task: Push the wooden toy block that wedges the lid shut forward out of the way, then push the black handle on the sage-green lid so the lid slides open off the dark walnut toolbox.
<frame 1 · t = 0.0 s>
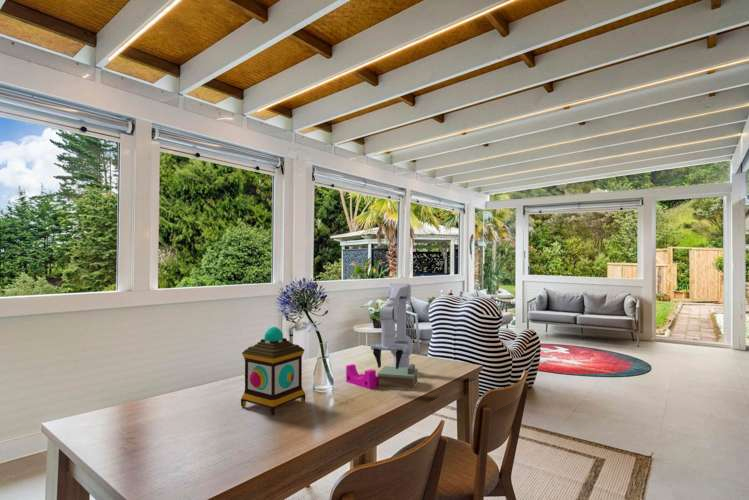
hand: (388, 367, 178), 10 cm above the table, tool pointing down, fingers open, 7 cm apart
toy block: (362, 384, 189), on the table
toolbox: (398, 384, 188), on the table
decorative lantern: (273, 405, 163), on the table
lid: (398, 369, 188), point 7 cm above the table, slide at 0.0 cm
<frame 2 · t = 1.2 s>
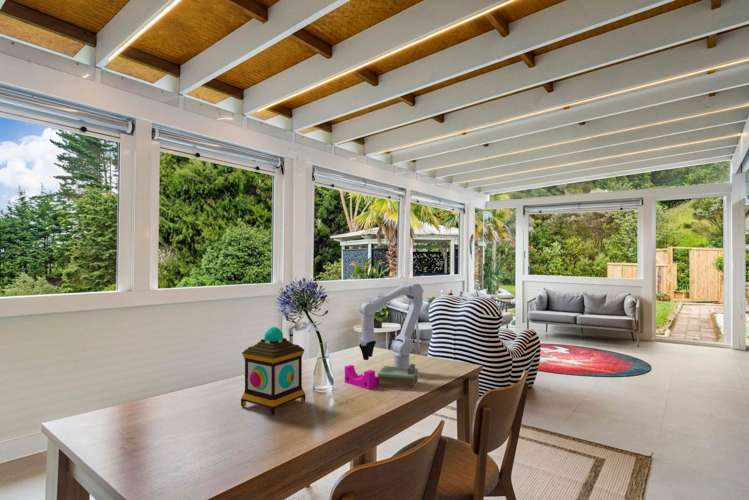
hand: (367, 358, 197), 9 cm above the table, tool pointing down, fingers open, 6 cm apart
toy block: (361, 385, 188), on the table
everything else where it was.
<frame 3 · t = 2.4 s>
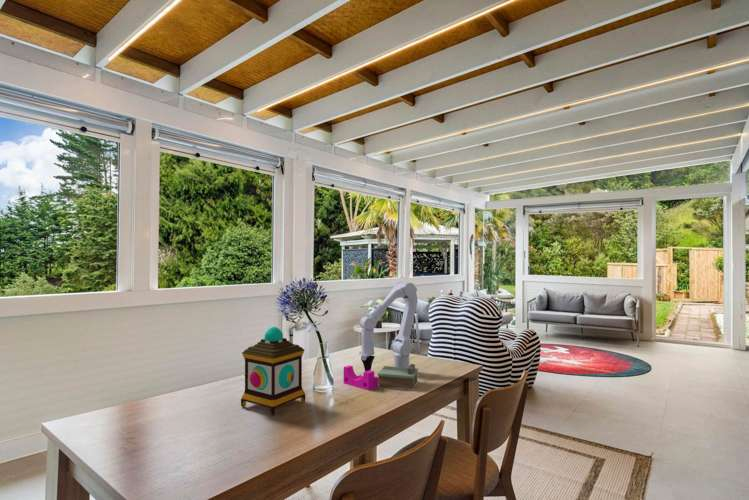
hand: (367, 372, 197), 3 cm above the table, tool pointing down, fingers closed
toy block: (360, 386, 187), on the table
everything else where it was.
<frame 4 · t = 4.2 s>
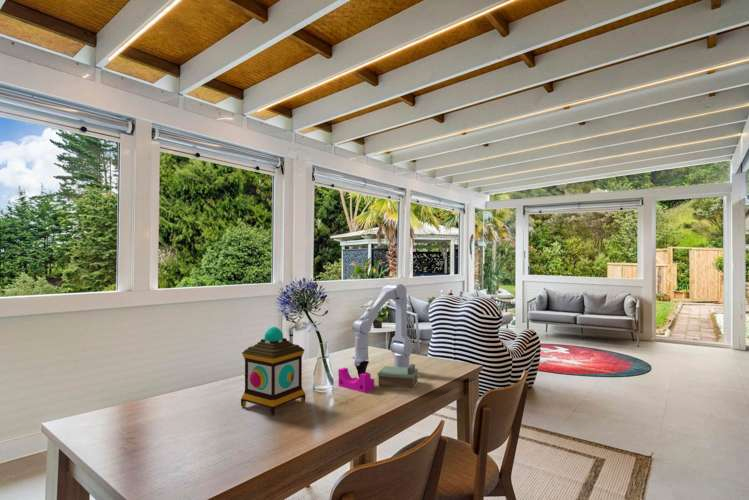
hand: (361, 378, 188), 3 cm above the table, tool pointing down, fingers closed
toy block: (356, 388, 184), on the table, touching gripper
everything else where it was.
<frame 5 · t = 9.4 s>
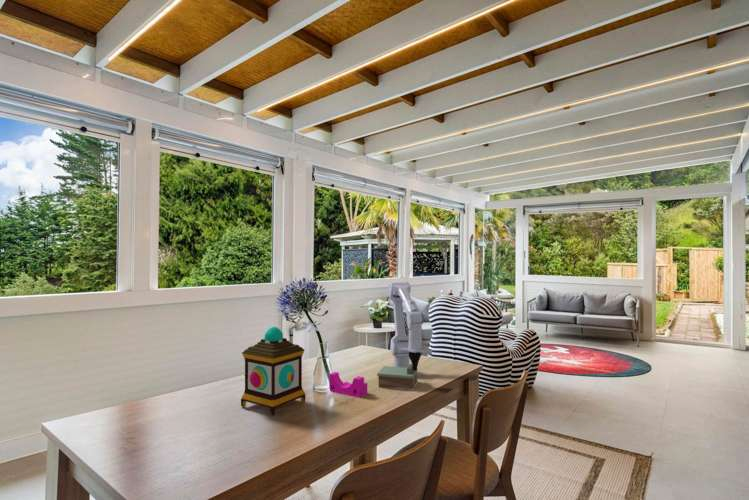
hand: (415, 369, 186), 7 cm above the table, tool pointing down, fingers closed
toy block: (348, 393, 178), on the table
lid: (397, 369, 188), point 7 cm above the table, slide at 0.3 cm, touching gripper
everything else where it was.
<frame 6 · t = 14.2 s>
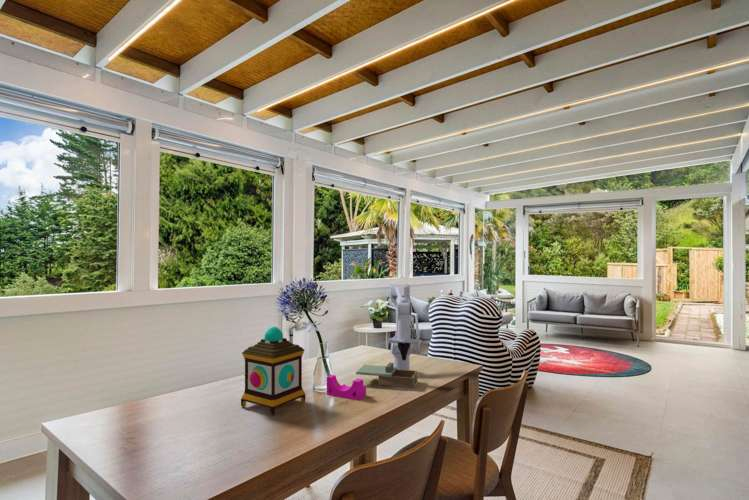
hand: (404, 359, 190), 10 cm above the table, tool pointing down, fingers closed
toy block: (346, 396, 174), on the table
lid: (376, 367, 190), point 7 cm above the table, slide at 9.8 cm
everything else where it was.
at the end: lid slide at 9.8 cm; toy block inside the target area (5.7 cm from its centre), on the table; toy block tilted 0° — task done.
